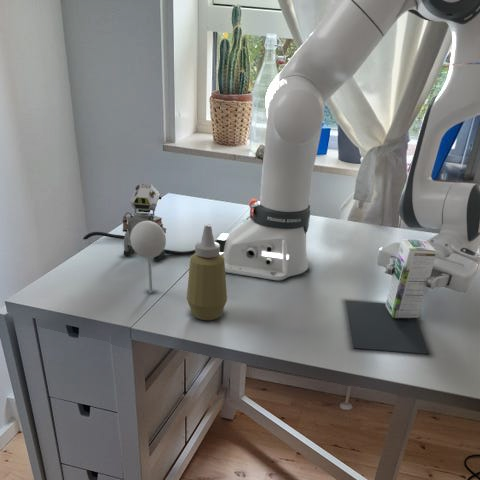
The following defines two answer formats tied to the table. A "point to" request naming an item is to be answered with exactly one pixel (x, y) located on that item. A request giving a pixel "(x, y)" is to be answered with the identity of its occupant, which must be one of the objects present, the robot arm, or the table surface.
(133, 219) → the figurine
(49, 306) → the table surface
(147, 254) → the lollipop
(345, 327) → the table surface
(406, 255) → the syrup box
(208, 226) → the squeeze bottle
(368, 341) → the mat
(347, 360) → the table surface
